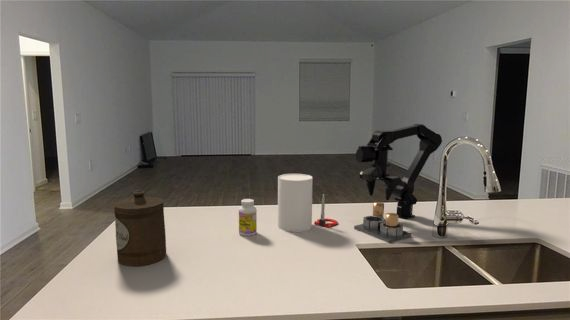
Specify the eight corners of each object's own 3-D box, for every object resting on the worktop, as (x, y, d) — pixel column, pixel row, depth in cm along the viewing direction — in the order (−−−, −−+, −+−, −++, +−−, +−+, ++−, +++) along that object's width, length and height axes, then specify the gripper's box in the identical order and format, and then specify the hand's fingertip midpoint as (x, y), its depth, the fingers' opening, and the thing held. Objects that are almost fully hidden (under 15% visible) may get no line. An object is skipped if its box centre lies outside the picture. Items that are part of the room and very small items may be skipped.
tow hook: (323, 219, 170) (311, 224, 163) (324, 190, 169) (313, 193, 161) (341, 223, 165) (330, 228, 158) (342, 192, 164) (332, 196, 156)
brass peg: (377, 217, 173) (378, 201, 172) (385, 219, 169) (386, 203, 168) (370, 218, 171) (370, 202, 169) (377, 221, 167) (378, 205, 166)
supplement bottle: (235, 234, 150) (234, 201, 148) (245, 229, 156) (244, 197, 154) (250, 237, 147) (250, 203, 145) (259, 232, 153) (259, 199, 151)
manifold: (354, 228, 157) (354, 208, 156) (376, 223, 164) (377, 204, 163) (388, 242, 142) (389, 220, 141) (411, 236, 149) (412, 215, 148)
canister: (312, 221, 166) (313, 174, 163) (311, 232, 153) (311, 181, 150) (279, 220, 168) (280, 173, 165) (275, 231, 154) (276, 180, 151)
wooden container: (118, 251, 133) (114, 186, 130) (164, 246, 138) (161, 183, 135) (116, 269, 120) (112, 197, 116) (168, 262, 125) (165, 193, 121)
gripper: (350, 159, 169) (349, 195, 172) (383, 166, 154) (381, 205, 156) (369, 157, 175) (368, 192, 178) (403, 163, 160) (401, 201, 162)
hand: (379, 197), depth 168 cm, fingers open, 9 cm apart
